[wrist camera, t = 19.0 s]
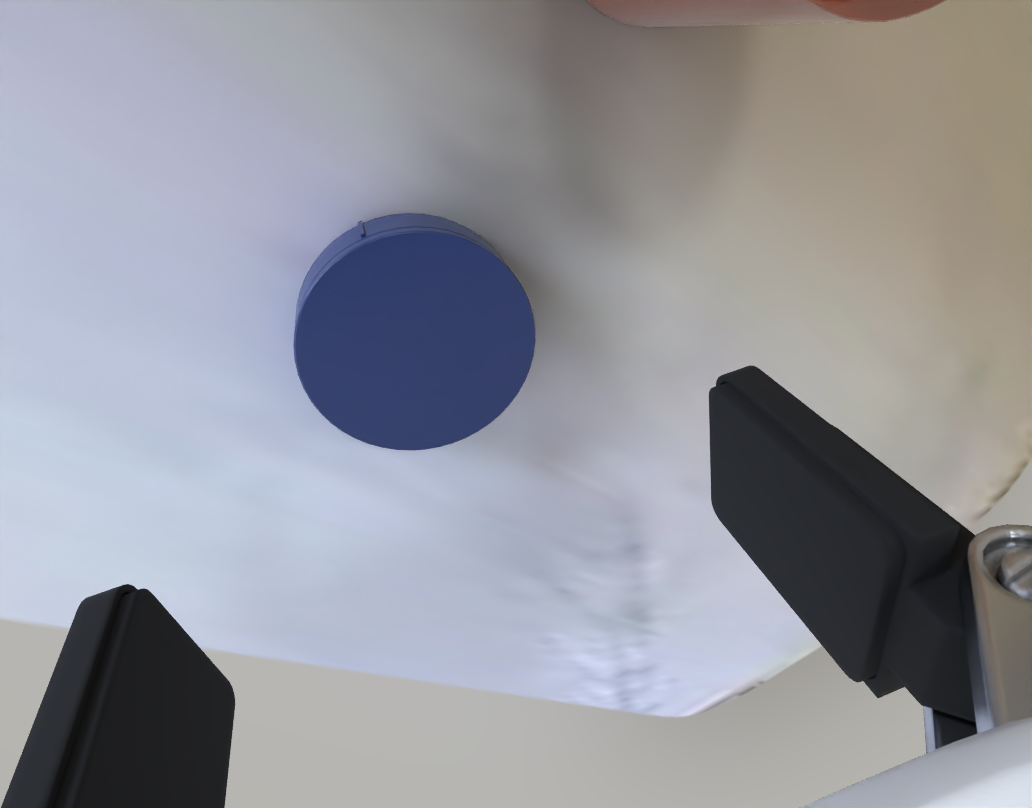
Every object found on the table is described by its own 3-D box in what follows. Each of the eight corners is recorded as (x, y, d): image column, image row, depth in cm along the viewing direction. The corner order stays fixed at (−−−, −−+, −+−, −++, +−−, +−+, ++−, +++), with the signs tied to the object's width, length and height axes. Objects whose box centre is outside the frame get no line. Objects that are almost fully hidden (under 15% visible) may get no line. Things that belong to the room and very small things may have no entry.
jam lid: (246, 270, 16) (238, 295, 15) (470, 170, 17) (486, 184, 15) (363, 449, 20) (366, 484, 19) (544, 365, 21) (563, 393, 19)
